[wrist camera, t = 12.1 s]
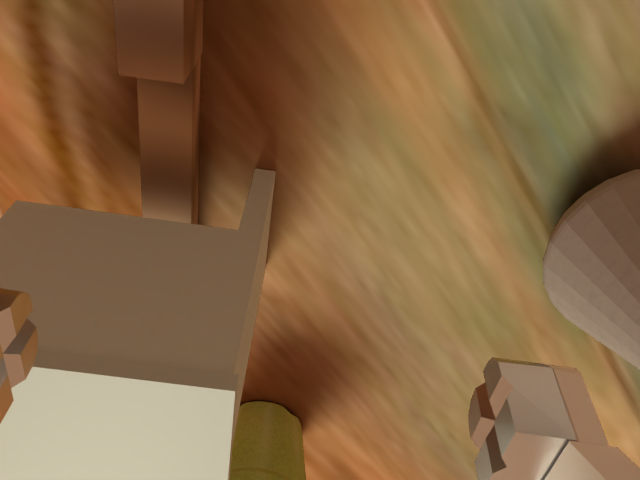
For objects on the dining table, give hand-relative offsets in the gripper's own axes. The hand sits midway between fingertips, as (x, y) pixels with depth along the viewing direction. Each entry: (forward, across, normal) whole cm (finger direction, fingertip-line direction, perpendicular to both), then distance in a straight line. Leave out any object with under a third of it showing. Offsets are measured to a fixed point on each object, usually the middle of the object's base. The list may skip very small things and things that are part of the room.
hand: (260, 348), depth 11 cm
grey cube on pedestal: (+23, +7, +14) cm, 28 cm away
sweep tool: (+23, +7, +8) cm, 26 cm away
